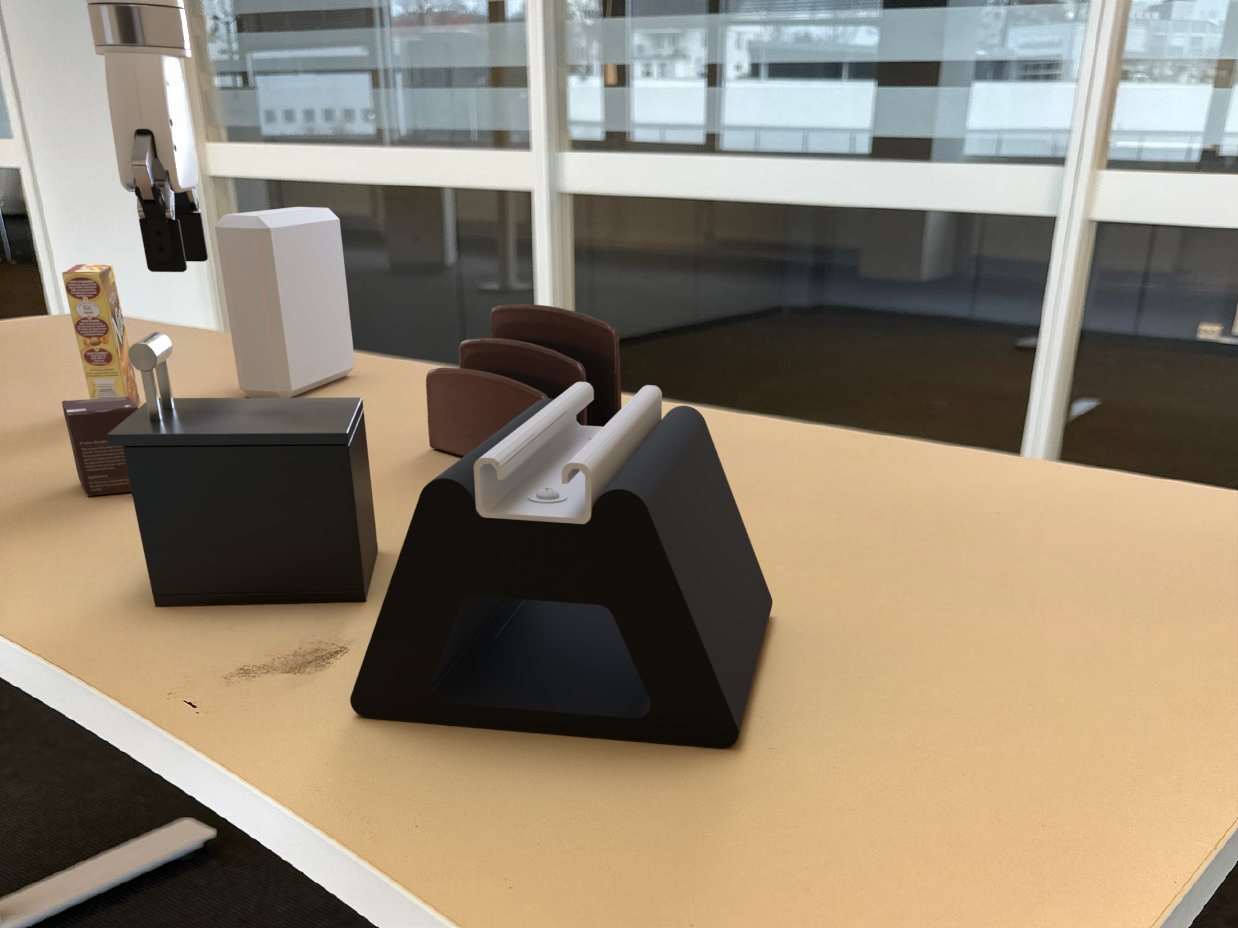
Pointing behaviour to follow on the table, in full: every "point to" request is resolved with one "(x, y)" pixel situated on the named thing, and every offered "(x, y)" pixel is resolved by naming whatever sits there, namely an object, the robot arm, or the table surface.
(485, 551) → the device stand
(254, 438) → the bin lid
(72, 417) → the box
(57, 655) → the table surface
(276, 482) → the waste bin
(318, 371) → the bevelled white case
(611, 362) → the letter holder
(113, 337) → the candy box
